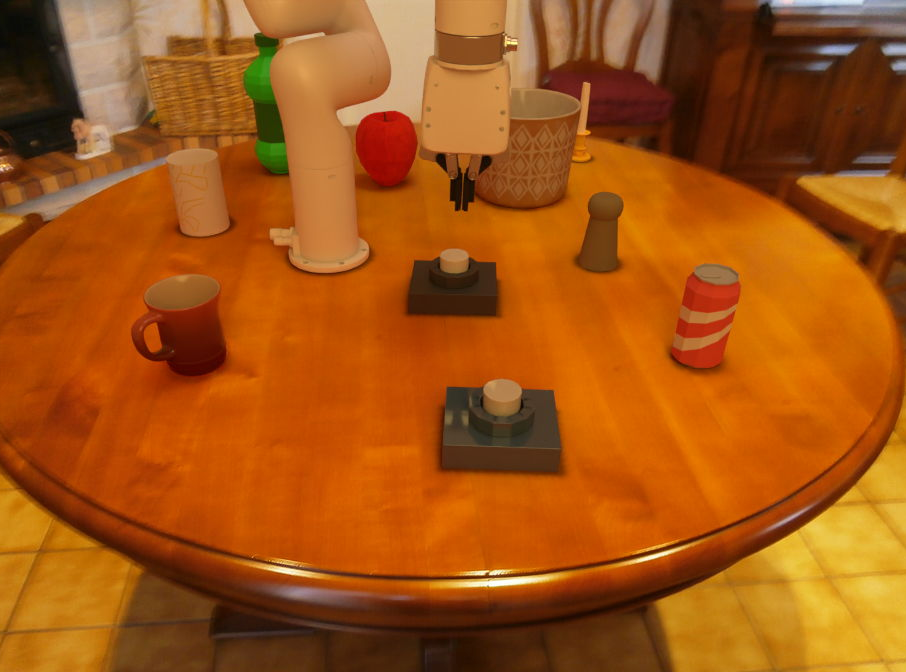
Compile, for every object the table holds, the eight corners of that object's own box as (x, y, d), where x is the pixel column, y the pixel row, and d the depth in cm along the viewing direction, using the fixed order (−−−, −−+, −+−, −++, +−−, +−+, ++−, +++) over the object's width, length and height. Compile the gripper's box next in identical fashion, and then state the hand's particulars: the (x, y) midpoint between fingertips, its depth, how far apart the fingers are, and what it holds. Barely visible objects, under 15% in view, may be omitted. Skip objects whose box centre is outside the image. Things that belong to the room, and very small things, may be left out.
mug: (200, 337, 97) (184, 267, 91) (249, 357, 93) (236, 285, 87) (125, 383, 88) (102, 309, 82) (175, 406, 85) (156, 331, 79)
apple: (384, 167, 149) (381, 99, 141) (431, 179, 143) (431, 109, 135) (345, 184, 141) (340, 113, 133) (393, 198, 135) (390, 125, 128)
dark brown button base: (409, 313, 102) (408, 281, 99) (414, 279, 110) (414, 248, 107) (495, 316, 101) (497, 283, 98) (495, 281, 109) (496, 250, 107)
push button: (439, 274, 101) (439, 260, 100) (440, 261, 105) (440, 248, 103) (468, 275, 101) (468, 261, 100) (468, 261, 105) (469, 248, 103)
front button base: (442, 468, 76) (442, 431, 73) (446, 408, 85) (446, 373, 82) (558, 472, 76) (563, 435, 73) (551, 412, 84) (555, 376, 81)
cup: (170, 231, 123) (154, 161, 116) (200, 213, 130) (187, 145, 123) (210, 239, 121) (197, 168, 114) (239, 220, 127) (228, 152, 120)
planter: (587, 187, 140) (599, 97, 131) (543, 222, 127) (552, 125, 117) (498, 167, 149) (503, 82, 139) (448, 198, 135) (449, 106, 126)
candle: (576, 152, 156) (585, 75, 147) (595, 158, 153) (606, 80, 144) (560, 157, 154) (568, 79, 145) (579, 164, 150) (588, 84, 141)
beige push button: (482, 416, 76) (483, 400, 75) (482, 393, 79) (483, 378, 78) (521, 417, 76) (522, 402, 75) (519, 394, 79) (521, 379, 78)
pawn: (617, 273, 112) (628, 204, 105) (576, 269, 113) (585, 201, 106) (617, 255, 116) (627, 189, 110) (578, 252, 117) (587, 185, 111)
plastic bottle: (258, 161, 151) (239, 29, 137) (309, 159, 152) (296, 28, 138) (253, 179, 143) (233, 40, 129) (308, 176, 144) (294, 39, 130)
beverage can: (664, 344, 96) (682, 261, 89) (714, 345, 95) (736, 261, 88) (675, 371, 91) (695, 285, 84) (727, 372, 90) (752, 286, 83)
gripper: (537, 42, 82) (522, 197, 93) (404, 36, 83) (404, 191, 94) (539, 59, 76) (523, 223, 87) (396, 53, 77) (397, 216, 88)
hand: (461, 206), depth 90 cm, fingers closed
